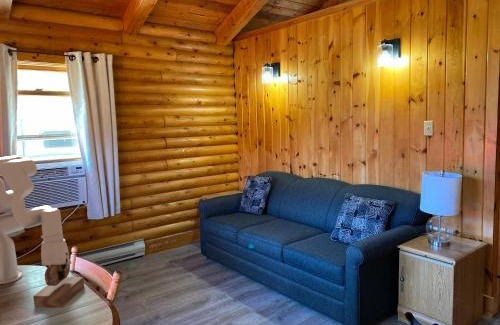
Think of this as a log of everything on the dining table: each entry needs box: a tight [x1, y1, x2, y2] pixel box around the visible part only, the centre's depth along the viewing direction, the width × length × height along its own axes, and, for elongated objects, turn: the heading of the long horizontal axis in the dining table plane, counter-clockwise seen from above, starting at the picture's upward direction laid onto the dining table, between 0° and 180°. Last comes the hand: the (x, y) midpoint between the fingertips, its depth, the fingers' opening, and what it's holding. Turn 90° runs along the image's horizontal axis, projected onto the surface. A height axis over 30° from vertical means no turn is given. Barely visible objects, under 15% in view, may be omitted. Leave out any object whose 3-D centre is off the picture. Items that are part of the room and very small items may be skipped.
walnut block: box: [32, 276, 85, 309], centre depth 174 cm, size 12×18×5 cm, turn 174°
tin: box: [44, 262, 71, 286], centre depth 173 cm, size 15×3×8 cm, turn 174°
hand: (58, 278), depth 173 cm, fingers closed on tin, 2 cm apart
